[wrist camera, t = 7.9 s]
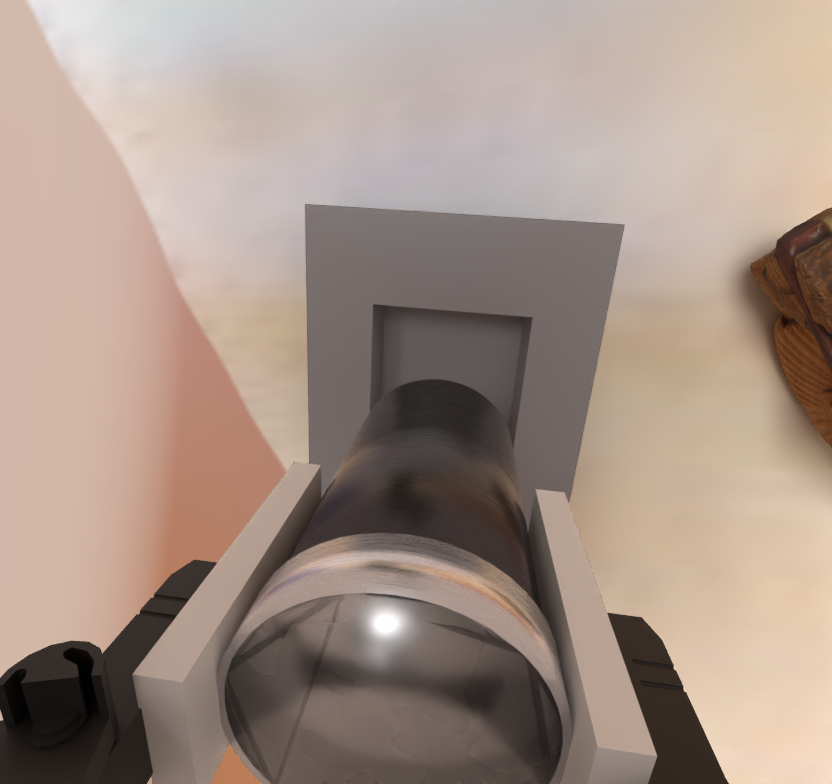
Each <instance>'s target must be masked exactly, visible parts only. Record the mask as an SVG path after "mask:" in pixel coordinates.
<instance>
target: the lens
mask: <svg viewBox="0 0 832 784" xmlns="http://www.w3.org/2000/svg"><path fill="white" fill-rule="evenodd" d="M216 682H217V691H218V700H219V709H220V717H221V724H222V727H223V730H224V732H225V735H226V737H227V739H228V741H229V742H230V744H231V746H232V748H233V750H234V751H235V753H236V754H237V755H238V756H239V758H240V760H241V761H242V762H243V764H244V765H245V766H246V767H247V768H248V769H249V771H250V772H251V773H252V774H253V775H254V776H255V777H256V778H257V779H258V780H259V781H260V782H261V783H262V784H560V782H561V781H562V779H563V775H564V771H565V767H566V763H567V759H568V755H569V751H570V747H571V743H572V739H573V729H572V720H571V715H570V710H569V705H568V700H567V695H566V690H565V685H564V680H563V675H562V670H561V665H560V660H559V655H558V651H557V646H556V642H555V638H554V636H553V634H552V631H551V629H550V626H549V624H548V622H547V620H546V619H545V617H544V615H543V614H542V609H541V603H540V597H539V592H538V586H537V581H536V575H535V569H534V564H533V558H532V553H531V547H530V541H529V536H528V530H527V525H526V519H525V513H524V508H523V502H522V496H521V491H520V485H519V480H518V474H517V468H516V463H515V457H514V452H513V446H512V441H511V436H510V432H509V429H508V427H507V424H506V422H505V420H504V419H503V417H502V415H501V414H500V412H499V411H498V410H497V408H496V407H495V406H494V405H493V404H492V403H491V402H490V401H489V400H488V399H487V398H485V397H484V396H483V395H482V394H480V393H479V392H477V391H475V390H473V389H472V388H470V387H467V386H465V385H463V384H460V383H456V382H453V381H448V380H442V379H425V380H418V381H413V382H409V383H406V384H404V385H401V386H399V387H397V388H395V389H393V390H391V391H390V392H388V393H387V394H386V395H384V396H383V397H382V398H381V399H380V400H379V401H378V402H377V403H376V404H375V405H374V406H373V408H372V409H371V410H370V412H369V414H368V416H367V417H366V419H365V421H364V423H363V424H362V426H361V428H360V430H359V432H358V433H357V435H356V437H355V439H354V441H353V442H352V444H351V446H350V448H349V450H348V451H347V453H346V455H345V457H344V459H343V460H342V462H341V464H340V466H339V468H338V469H337V471H336V473H335V475H334V477H333V478H332V480H331V482H330V484H329V486H328V487H327V489H326V491H325V493H324V495H323V496H322V498H321V500H320V502H319V504H318V505H317V507H316V509H315V511H314V513H313V514H312V516H311V518H310V520H309V522H308V523H307V525H306V527H305V529H304V531H303V532H302V534H301V536H300V538H299V540H298V541H297V543H296V545H295V547H294V549H293V550H292V552H291V554H290V556H289V558H288V559H287V561H286V563H285V564H284V565H282V566H281V567H280V568H279V569H278V570H277V571H276V572H274V574H273V575H272V576H271V577H270V579H269V580H268V581H267V582H266V583H265V585H264V586H263V588H262V589H261V591H260V593H259V595H258V596H257V598H256V600H255V601H254V603H253V605H252V607H251V608H250V610H249V612H248V614H247V615H246V617H245V619H244V620H243V622H242V624H241V626H240V627H239V629H238V631H237V632H236V634H235V636H234V638H233V639H232V641H231V643H230V645H229V646H228V648H227V650H226V652H225V653H224V655H223V658H222V661H221V664H220V667H219V669H218V675H217V681H216Z"/></svg>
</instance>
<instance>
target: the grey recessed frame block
mask: <svg viewBox="0 0 832 784" xmlns="http://www.w3.org/2000/svg"><path fill="white" fill-rule="evenodd" d="M305 225H306V287H307V350H308V412H309V464H316V465H321V498H322V496H323V495H324V493H325V491H326V489H327V487H328V486H329V484H330V482H331V480H332V478H333V477H334V475H335V473H336V471H337V469H338V468H339V466H340V464H341V462H342V460H343V459H344V457H345V455H346V453H347V451H348V450H349V448H350V446H351V444H352V442H353V441H354V439H355V437H356V435H357V433H358V432H359V430H360V428H361V426H362V424H363V423H364V421H365V419H366V417H367V416H368V414H369V412H370V410H371V409H372V408H373V406H374V405H375V404H376V403H377V402H378V401H379V400H380V399H381V398H382V397H383V396H384V395H386V394H387V393H388V392H390V391H391V390H393V389H395V388H397V387H399V386H401V385H404V384H406V383H409V382H413V381H418V380H425V379H442V380H448V381H453V382H456V383H460V384H463V385H465V386H467V387H470V388H472V389H473V390H475V391H477V392H479V393H480V394H482V395H483V396H484V397H485V398H487V399H488V400H489V401H490V402H491V403H492V404H493V405H494V406H495V407H496V408H497V410H498V411H499V412H500V414H501V415H502V417H503V419H504V420H505V422H506V424H507V427H508V429H509V432H510V436H511V441H512V446H513V452H514V457H515V463H516V468H517V474H518V480H519V485H520V491H521V496H522V502H523V508H524V513H525V519H526V525H527V530H529V524H530V518H531V512H532V506H533V501H534V495H535V489H539V490H548V491H557V492H565V494H566V497H567V500H568V503H569V500H570V495H571V490H572V485H573V480H574V475H575V470H576V465H577V460H578V455H579V450H580V445H581V440H582V435H583V430H584V425H585V420H586V415H587V410H588V405H589V400H590V395H591V390H592V385H593V380H594V375H595V370H596V365H597V360H598V355H599V350H600V345H601V340H602V335H603V330H604V325H605V320H606V315H607V310H608V305H609V300H610V295H611V290H612V285H613V280H614V275H615V270H616V265H617V260H618V255H619V250H620V245H621V240H622V235H623V230H624V225H623V224H607V223H591V222H576V221H560V220H545V219H529V218H514V217H498V216H483V215H467V214H451V213H436V212H420V211H405V210H389V209H374V208H358V207H342V206H327V205H311V204H305Z"/></svg>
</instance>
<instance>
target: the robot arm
mask: <svg viewBox="0 0 832 784" xmlns="http://www.w3.org/2000/svg"><path fill="white" fill-rule="evenodd" d="M320 500H321V465H316V464H308V463H299V462H294V463H293V464H292V466H291V467H290V468H289V470H288V471H287V472H286V474H285V475H284V476H283V477H282V479H281V480H280V481H279V483H278V484H277V485H276V487H275V488H274V490H273V491H272V492H271V493H270V495H269V496H268V497H267V499H266V500H265V501H264V502H263V504H262V505H261V506H260V508H259V509H258V511H257V512H256V513H255V514H254V516H253V517H252V518H251V519H250V521H249V522H248V524H247V525H246V526H245V527H244V529H243V530H242V532H241V533H240V534H239V535H238V537H237V538H236V539H235V541H234V542H233V543H232V544H231V546H230V547H229V548H228V550H227V551H226V552H225V554H224V555H223V556H222V557H221V559H220V560H219V561H218V563H216V562H208V561H200V560H193V561H192V562H190V563H189V564H187V565H185V566H184V567H182V568H181V569H179V570H178V571H176V572H175V573H173V574H172V575H171V576H170V577H169V578H168V579H167V580H166V581H165V582H164V584H163V585H162V586H161V587H160V588H159V589H158V591H157V592H156V593H155V594H154V597H153V598H151V599H150V600H149V601H148V602H147V603H146V605H144V607H143V608H142V609H141V611H140V614H139V615H136V616H135V617H134V618H133V619H132V620H131V622H130V623H129V624H128V625H127V626H126V627H125V629H124V630H123V631H122V632H121V633H120V634H119V635H118V636H117V638H116V639H115V640H114V641H113V642H112V643H111V645H110V646H109V647H108V648H107V649H106V650H105V651H104V653H103V654H102V652H101V649H100V648H99V647H96V646H95V645H93V644H92V643H90V642H83V641H68V642H64V643H59V644H54V645H50V646H48V647H46V648H44V649H41V650H39V651H37V652H35V653H32V654H30V655H28V656H27V657H25V658H24V659H23V660H21V661H20V662H18V663H17V664H15V665H14V666H12V667H11V668H9V669H8V670H7V671H6V672H5V673H4V675H3V676H2V677H1V678H0V710H1V713H2V717H3V720H2V721H0V784H147V782H148V781H149V779H150V777H152V783H153V784H210V783H211V781H212V779H213V777H214V775H215V773H216V770H217V769H218V767H219V765H220V762H221V760H222V758H223V756H224V754H225V752H226V750H227V748H228V745H229V743H230V742H229V741H228V739H227V737H226V735H225V732H224V730H223V727H222V724H221V717H220V709H219V700H218V691H217V682H216V681H217V675H218V669H219V667H220V664H221V661H222V658H223V655H224V653H225V652H226V650H227V648H228V646H229V645H230V643H231V641H232V639H233V638H234V636H235V634H236V632H237V631H238V629H239V627H240V626H241V624H242V622H243V620H244V619H245V617H246V615H247V614H248V612H249V610H250V608H251V607H252V605H253V603H254V601H255V600H256V598H257V596H258V595H259V593H260V591H261V589H262V588H263V586H264V585H265V583H266V582H267V581H268V580H269V579H270V577H271V576H272V575H273V574H274V572H276V571H277V570H278V569H279V568H280V567H281V566H282V565H284V564H285V563H286V561H287V559H288V558H289V556H290V554H291V552H292V550H293V549H294V547H295V545H296V543H297V541H298V540H299V538H300V536H301V534H302V532H303V531H304V529H305V527H306V525H307V523H308V522H309V520H310V518H311V516H312V514H313V513H314V511H315V509H316V507H317V505H318V504H319V502H320ZM528 536H529V541H530V547H531V553H532V558H533V564H534V569H535V575H536V581H537V586H538V592H539V597H540V603H541V609H542V614H543V615H544V617H545V619H546V620H547V622H548V624H549V626H550V629H551V631H552V634H553V636H554V638H555V642H556V646H557V651H558V655H559V660H560V665H561V670H562V675H563V680H564V685H565V690H566V695H567V700H568V705H569V710H570V715H571V720H572V729H573V739H572V743H571V747H570V751H569V755H568V759H567V763H566V767H565V771H564V775H563V779H562V781H561V782H560V784H729V783H728V782H727V780H726V778H725V776H724V774H723V772H722V769H721V767H720V765H719V763H718V761H717V759H716V756H715V754H714V752H713V750H712V748H711V745H710V743H709V741H708V739H707V737H706V735H705V732H704V730H703V728H702V726H701V724H700V722H699V719H698V717H697V715H696V713H695V711H694V709H693V706H692V704H691V702H690V700H689V698H688V696H687V693H686V692H684V690H683V685H682V683H681V680H680V678H679V676H678V674H677V672H676V670H674V668H673V663H672V661H671V659H670V656H669V654H668V652H667V650H666V648H665V646H664V643H663V641H662V640H661V638H660V637H659V636H658V635H657V634H656V633H655V632H654V631H653V630H652V628H651V627H650V626H649V625H648V624H647V623H646V622H645V621H644V620H643V619H642V617H635V616H627V615H619V614H612V613H607V611H606V609H605V606H604V603H603V600H602V597H601V594H600V591H599V589H598V586H597V583H596V580H595V577H594V574H593V571H592V569H591V566H590V563H589V560H588V557H587V554H586V551H585V549H584V546H583V543H582V540H581V537H580V534H579V531H578V529H577V526H576V523H575V520H574V517H573V514H572V511H571V509H570V506H569V503H568V500H567V497H566V494H565V492H557V491H548V490H539V489H535V495H534V501H533V506H532V512H531V518H530V524H529V530H528Z"/></svg>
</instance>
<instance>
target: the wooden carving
mask: <svg viewBox="0 0 832 784" xmlns="http://www.w3.org/2000/svg"><path fill="white" fill-rule="evenodd" d="M750 268H751V271H752V274H753V276H754V278H755V279H756V281H757V283H758V285H759V286H760V287H761V288H762V289H763V290H764V292H765V293H766V294H767V296H768V297H769V298H770V300H771V301H772V302H773V303H774V305H775V306H776V307H777V308H778V309H779V310H780V311H782V312H783V313H782V314H781V316H780V317H779V318H778V319H777V321H776V323H775V326H774V330H775V334H774V336H775V342H776V348H777V351H778V355H779V358H780V363H781V365H782V366H783V371H784V373H785V375H786V377H787V379H788V382H789V383H790V385H791V386H792V390H793V392H794V394H795V395H796V396H797V398H798V400H799V403H800V404H802V406H803V407H804V409H805V410H806V412H807V413H806V414H807V415H808V416H809V417H810V418H811V420H812V421H811V422H812V424H813V425H814V426H815V427H816V429H817V430H818V431H819V433H820V434H821V435H822V437H823V438H824V439H825V441H826V442H828V443H829V444H830V446H831V448H832V208H829V209H826V210H824V211H822V212H821V213H819V214H817V215H816V216H814V217H812V218H811V219H809V220H807V221H805V222H804V223H802V224H800V225H798V226H796V227H794V228H793V229H792V230H790V231H789V232H787V233H786V234H784V235H783V236H782V237H781V238H780V239H778V240H777V244H776V248H775V249H774V250H773V251H772V252H771V253H769V254H767V255H766V256H764V257H762V258H761V259H759V260H757V261H755V262H754V263H752V264H751V266H750Z"/></svg>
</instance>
